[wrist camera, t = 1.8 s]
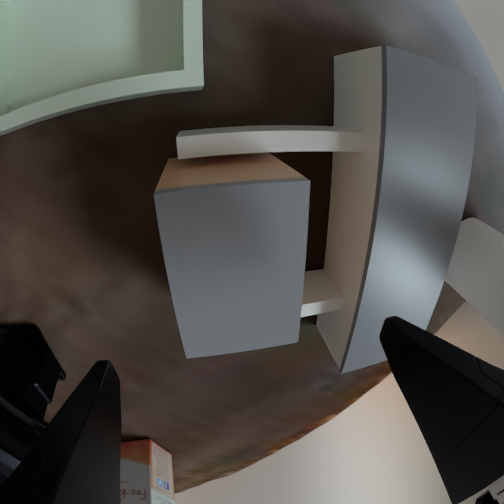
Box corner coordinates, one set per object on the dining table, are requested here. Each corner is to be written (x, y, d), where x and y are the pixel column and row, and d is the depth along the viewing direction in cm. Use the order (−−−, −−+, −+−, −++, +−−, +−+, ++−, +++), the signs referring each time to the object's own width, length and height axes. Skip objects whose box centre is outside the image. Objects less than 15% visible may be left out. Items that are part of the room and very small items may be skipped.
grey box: (184, 279, 19) (186, 358, 13) (168, 158, 16) (153, 194, 10) (265, 269, 20) (297, 342, 14) (265, 150, 16) (310, 180, 10)
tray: (5, 133, 12) (-28, 144, 9) (15, -31, 6) (-10, -45, 3) (201, 90, 14) (203, 85, 11) (201, -80, 8) (205, -110, 5)
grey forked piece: (420, 74, 15) (477, 78, 11) (385, 309, 25) (416, 349, 20) (175, 53, 13) (168, 29, 8) (206, 342, 22) (213, 398, 18)
